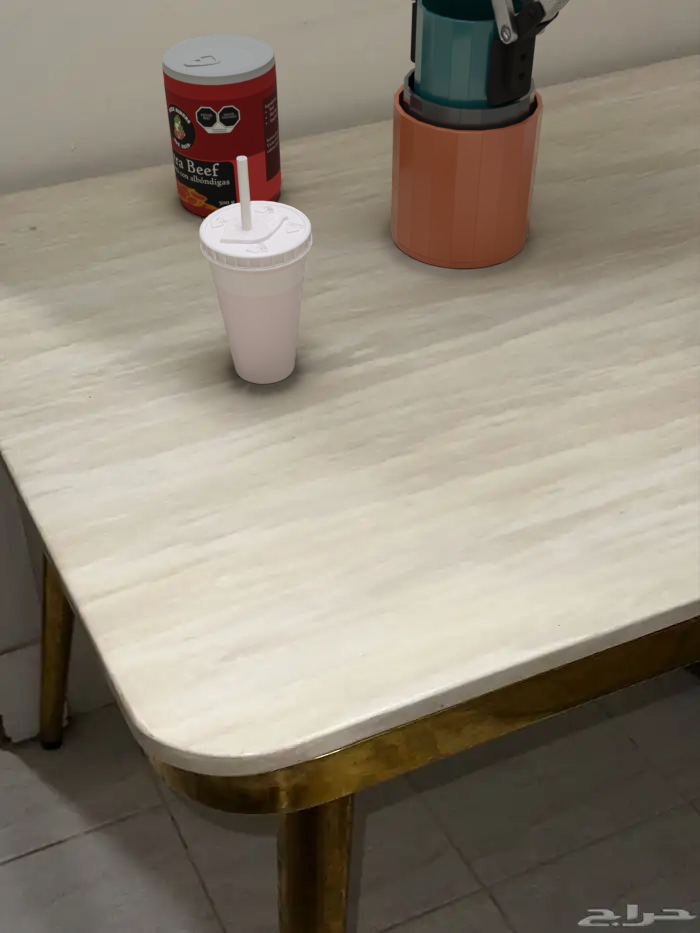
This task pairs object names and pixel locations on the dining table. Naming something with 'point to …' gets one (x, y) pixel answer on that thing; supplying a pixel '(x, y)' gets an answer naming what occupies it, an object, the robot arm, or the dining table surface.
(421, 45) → the teal cup
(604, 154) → the dining table surface
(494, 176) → the stack
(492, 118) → the stack top
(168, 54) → the canned food
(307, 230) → the smoothie
